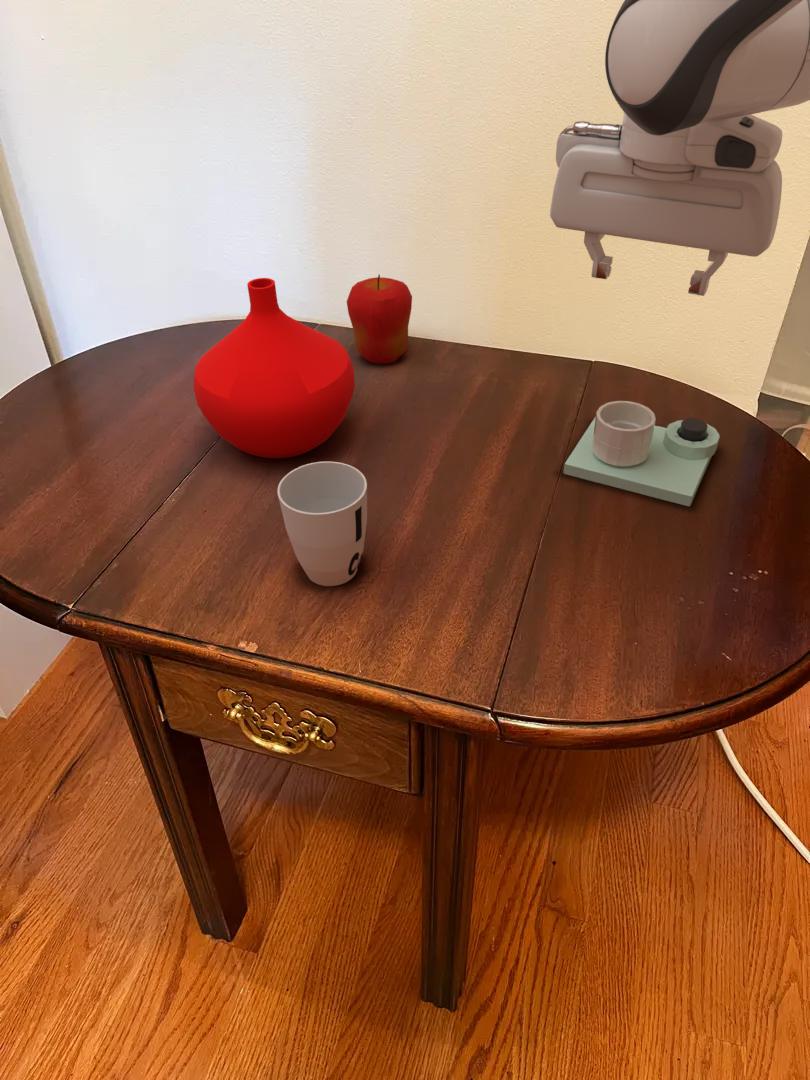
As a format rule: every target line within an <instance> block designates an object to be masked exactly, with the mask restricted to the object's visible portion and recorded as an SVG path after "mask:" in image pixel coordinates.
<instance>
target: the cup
mask: <svg viewBox="0 0 810 1080" xmlns="http://www.w3.org/2000/svg"><path fill="white" fill-rule="evenodd" d="M276 491H277V496H278V497H277V498H278V501H279V506H280V510H281V513H282V519H283V522H284V527H285V531H286V533H287V536H288V539H289V542H290V544H291V547H292V549H293V552H294V554H295V557H296V559H297V561H298V563H299V564H300V566H301V568H302V569H303V571H304V572H305V574H306V576H307V577H308V579H309V580H310V581H311V582H313V583H314V584H316V585H319V586H323V587H335V586H340V585H344V584H346V583H348V582H349V581H350V580H352V579H353V578H355V576H356V574H357V571H358V569H359V566H360V562H361V560H362V559H361V558H362V556H363V553H364V548H365V540H366V532H367V526H368V525H367V524H368V481H367V478H366V477H365V475H364V473H363V472H362V471H361V470H359V469H358V468H357V467H354V466H352V465H350V464H347V463H344V462H339V461H316V462H311V463H307V464H303V465H301V466H298V467H297V468H294V469H292V470H290V472H288V473H287V474H286V475H284V476H283V477H282V479H281V480H280V481H279V483H278V486H277V490H276Z"/></svg>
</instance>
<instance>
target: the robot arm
mask: <svg viewBox="0 0 810 1080" xmlns="http://www.w3.org/2000/svg"><path fill="white" fill-rule="evenodd" d="M604 66H605V75H606V80H607V83H608V86H609V90H610V91H611V94H612V96H613V98H614V99H615V101H616V103H617V105H618V106H619V108H620V109H621V110H622V111H623V115H622V122H621V123H622V124H614V123H593V122H590V121H583V120H582V121H581V120H580V121H575V122H574V123H573V125H569V126H567V127H565V128H564V129H563V130H561V132H560V133H559V135H558V137H557V140H556V149H555V150H556V151H555V162H556V165H557V167H558V170H557V174H556V178H555V181H554V186H553V191H552V197H551V203H550V210H549V216H550V219H551V221H552V222H553V224H554V225H555V227H557V228H558V229H563V230H564V229H565V230H573V231H579V232H584V238H583V244H584V246H585V249H586V250H587V252H588V255H589V257H590V259H591V261H592V266H591V277H592V278H594V279H601V280H608V278H609V277H610V275H611V274H612V273H611V272H612V264H613V260H614V256H610V255H606V254H605V250H604V248H603V246H602V245H603V244H602V242H601V240H602V239H603V238H604V237H605V236H610V237H611V236H612V237H619V238H625V239H633V240H639V241H645V242H653V243H659V244H666V245H673V246H679V247H685V248H693V249H697V250H698V249H699V250H705V251H706V250H707V251H709V252H708V256H707V262H711V263H709V265H708V266H707V267H706V268H705V269H704V270H698V269H695V270H694V272H693V274H692V275H691V277H690V281H689V285H690V286H689V288H688V291H687V293H688V294H690V295H695V296H702V297H705V295H706V294H707V292H708V289H709V285H710V281H711V280H710V279H711V277H712V276H713V275H714V274H715V273H716V272H717V271H718V270H719V268H721V266H723V264H724V262H725V261H726V259H727V257H728V255H729V254H732V255H739V256H746V257H752V258H753V257H754V258H756V257H759V256H761V255H762V254H764V252H766V251H767V250H769V248H770V246H771V245H772V243H773V240H774V237H775V234H776V230H777V226H778V219H779V215H780V210H781V209H780V208H781V201H782V192H783V191H782V190H783V189H782V188H783V175H782V171H781V167H780V165H779V164H778V163H777V161H776V160H775V159H776V158H777V156H778V154H779V152H780V149H781V145H782V142H783V130H782V129H781V128H780V127H779V126H777V125H776V124H774V123H771V122H769V121H768V120H764V119H762V118H760V117H758V116H755V114H761V113H764V112H769V111H775V110H781V109H786V108H791V107H794V106H798V105H801V104H803V103H806V102H808V101H810V0H624V1H623V3H621V5H620V7H619V10H618V11H617V14H616V16H615V18H614V20H613V23H612V25H611V27H610V31H609V33H608V37H607V41H606V46H605V55H604ZM571 131H572V132H571Z"/></svg>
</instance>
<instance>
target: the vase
mask: <svg viewBox="0 0 810 1080" xmlns="http://www.w3.org/2000/svg"><path fill="white" fill-rule="evenodd" d="M246 286H247V292H248V298H249V305H250V306H249V312H248V314H247V316H246V317H245V318H244V320H243V321H242V322H241V323H240V324H238V325H237V326H236V327H235V328H234V329H232V331H231V332H230V333H228V334H227V335H225V337H224V338H222V339H221V340H220V341H219V342H216V343H215V345H214V346H212V347H211V348H210V349H208V350H207V351H206V352H205V353H204V354H203V355H202V356H201V357H200V359H199V360H198V362H197V364H196V366H195V368H194V369H195V370H194V375H193V392H194V396H195V397H194V398H195V401H196V405H197V407H198V408H199V411H200V412H201V413H202V416H203V417H204V418H205V419H206V421H207V422H208V423H209V425H210V427H212V428H213V430H214V431H215V432H216V434H217V435H218V436H220V437H221V438H222V439H224V441H226V442H228V443H229V444H230V445H232V446H233V447H235V448H236V449H238V450H239V451H242V452H244V453H247V454H249V455H252V456H256V457H261V458H266V459H287V458H288V459H289V458H293V457H297V456H300V455H304V454H306V453H307V452H310V451H312V450H314V449H316V448H317V447H319V446H321V444H323V443H324V442H325V441H327V440H328V439H329V438H330V437H331V436H332V435H333V434H334V433H335V431H336V430H337V429H338V427H339V426H340V425H341V423H342V422H343V421H344V419H345V418H346V415H347V413H348V410H349V407H350V404H351V401H352V399H353V396H354V392H355V387H356V385H355V384H356V382H355V381H356V380H355V368H354V365H353V362H352V359H351V357H350V355H349V353H348V351H347V349H346V348H345V347H344V346H343V345H342V344H341V343H340V342H339V341H338V340H335V339H334V338H332V337H331V336H328V335H326V334H324V333H323V332H320V331H319V330H316V329H314V328H311V327H309V326H308V325H306V324H303V323H302V322H300V321H298V320H296V319H294V318H293V317H291V316H289V315H288V314H286V312H284V311H283V310H282V309H281V308H280V304H279V302H278V294H277V288H276V281H275V280H274V279H273V278H269V277H259V278H258V277H257V278H253V279H251V280H249V281H248V282H247V283H246Z"/></svg>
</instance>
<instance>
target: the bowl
mask: <svg viewBox="0 0 810 1080" xmlns="http://www.w3.org/2000/svg"><path fill="white" fill-rule="evenodd" d="M595 417H596V419H595V426H594V434H593V441H592V451H593V453H594V454H595V456H596V457H597V458H598V459H600V460H602V461H603V462H605V463H607V464H609V465H613V466H618V467H629V466H633V465H636V464H640V463H641V462H643V461H645V460H646V459H647V457H648V455H649V452H650V447H651V442H652V437H653V432H654V426H656V421H657V418H656V414H655V413H654V411H652V410H651V408H649V407H648V406H646V405H644V404H641V403H639V402H634V401H630V400H615V401H614V400H613V401H609V402H606V403H604V404H602V405H600V406H599V407H598V409H597V410H596V413H595Z"/></svg>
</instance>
